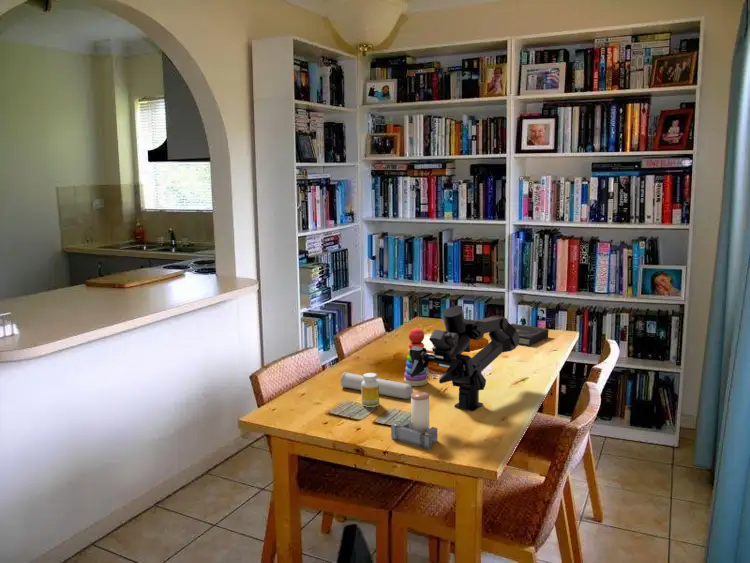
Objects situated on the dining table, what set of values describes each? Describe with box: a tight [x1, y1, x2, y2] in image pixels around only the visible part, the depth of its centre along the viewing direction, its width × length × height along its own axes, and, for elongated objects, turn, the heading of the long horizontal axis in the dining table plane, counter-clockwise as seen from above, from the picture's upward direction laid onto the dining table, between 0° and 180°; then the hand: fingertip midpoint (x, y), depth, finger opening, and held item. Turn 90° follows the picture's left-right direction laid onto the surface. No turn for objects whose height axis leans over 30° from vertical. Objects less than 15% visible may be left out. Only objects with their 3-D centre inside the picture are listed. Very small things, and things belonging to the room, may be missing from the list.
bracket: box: [390, 419, 439, 450], centre depth 173 cm, size 6×12×4 cm, turn 52°
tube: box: [340, 371, 414, 400], centre depth 209 cm, size 5×5×25 cm
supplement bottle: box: [360, 372, 380, 408], centre depth 198 cm, size 5×5×10 cm
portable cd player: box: [510, 323, 549, 347], centre depth 268 cm, size 16×17×4 cm
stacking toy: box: [403, 327, 428, 387], centre depth 216 cm, size 8×8×19 cm
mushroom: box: [410, 391, 430, 432], centre depth 174 cm, size 5×5×12 cm
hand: (425, 378), depth 175 cm, fingers open, 9 cm apart
